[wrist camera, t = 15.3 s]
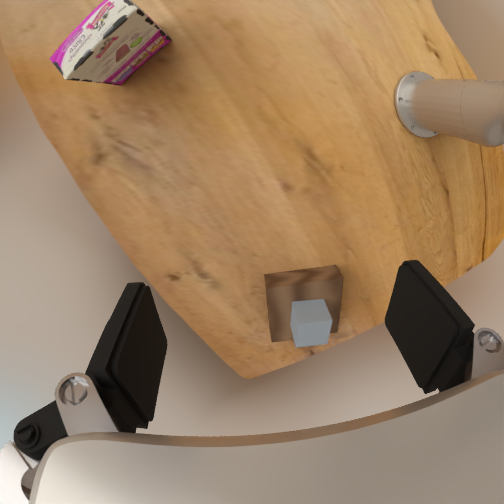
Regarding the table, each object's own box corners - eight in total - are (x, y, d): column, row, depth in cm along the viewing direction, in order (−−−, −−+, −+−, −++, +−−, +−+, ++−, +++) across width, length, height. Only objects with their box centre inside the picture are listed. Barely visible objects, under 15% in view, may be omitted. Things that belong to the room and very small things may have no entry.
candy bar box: (155, 22, 30) (117, -14, 15) (173, 40, 32) (140, 7, 17) (103, 69, 33) (46, 58, 18) (119, 87, 35) (65, 81, 20)
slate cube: (323, 298, 51) (332, 320, 45) (319, 322, 54) (327, 343, 48) (292, 301, 50) (298, 323, 45) (290, 324, 53) (295, 347, 48)
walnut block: (335, 263, 53) (343, 278, 49) (331, 316, 60) (337, 332, 55) (264, 273, 53) (266, 288, 49) (269, 325, 60) (271, 342, 55)
